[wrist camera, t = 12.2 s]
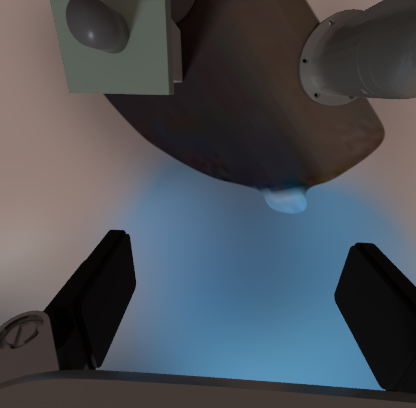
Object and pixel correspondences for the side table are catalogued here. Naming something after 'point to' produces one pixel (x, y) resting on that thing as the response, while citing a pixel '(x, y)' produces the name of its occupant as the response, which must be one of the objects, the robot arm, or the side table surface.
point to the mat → (180, 9)
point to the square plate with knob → (116, 45)
